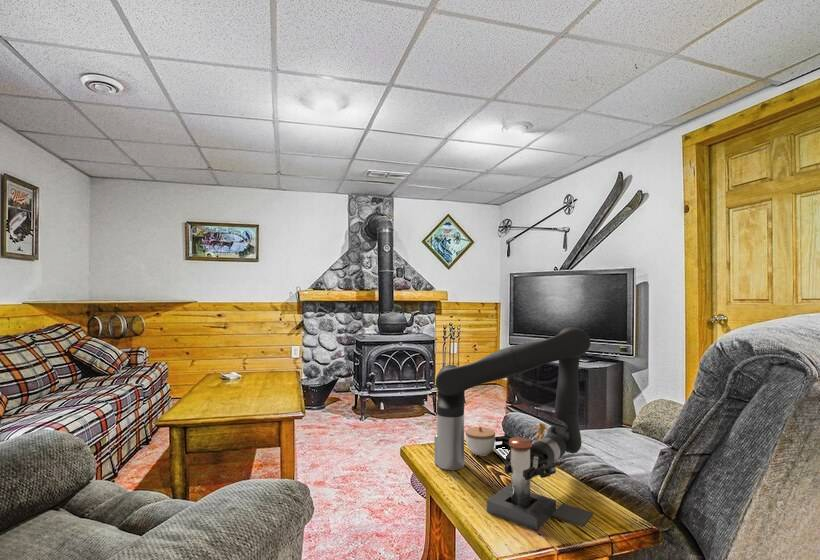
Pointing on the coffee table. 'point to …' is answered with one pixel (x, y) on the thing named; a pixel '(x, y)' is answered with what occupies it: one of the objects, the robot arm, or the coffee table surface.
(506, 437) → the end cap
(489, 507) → the bore housing
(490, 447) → the lidded jar
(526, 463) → the capped metal cylinder
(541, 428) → the figurine
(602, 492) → the coffee table surface
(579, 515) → the mat
